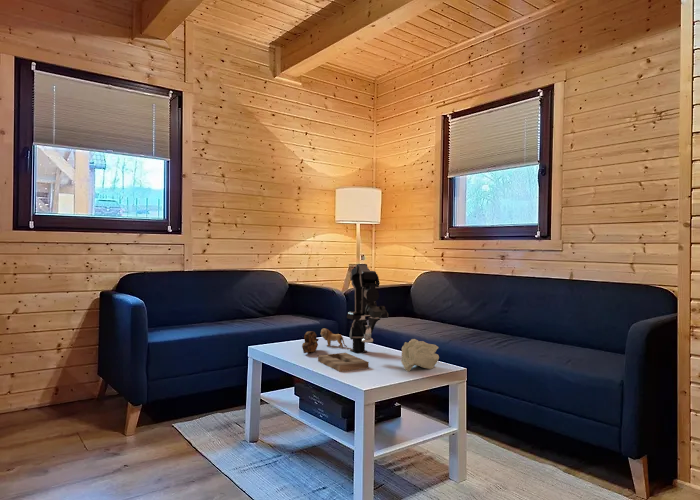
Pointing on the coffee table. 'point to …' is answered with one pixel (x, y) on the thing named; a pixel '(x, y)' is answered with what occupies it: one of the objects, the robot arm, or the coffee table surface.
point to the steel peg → (367, 335)
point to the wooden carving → (310, 342)
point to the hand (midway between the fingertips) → (367, 334)
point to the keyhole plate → (343, 362)
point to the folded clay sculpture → (419, 354)
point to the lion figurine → (332, 337)
